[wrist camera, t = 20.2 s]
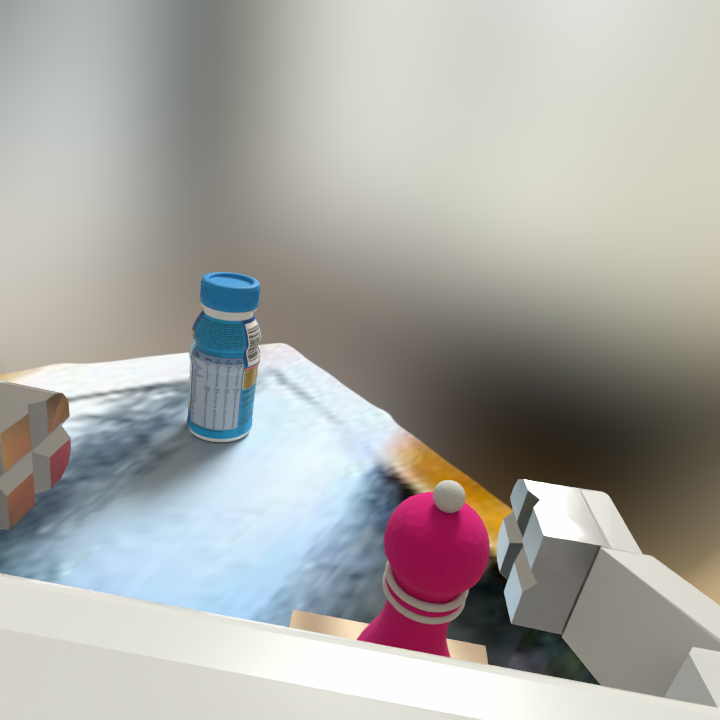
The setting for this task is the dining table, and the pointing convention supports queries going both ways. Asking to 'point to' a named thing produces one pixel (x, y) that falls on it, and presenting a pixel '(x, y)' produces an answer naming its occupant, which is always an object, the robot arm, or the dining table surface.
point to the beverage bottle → (224, 358)
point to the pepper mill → (428, 569)
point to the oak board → (355, 628)
